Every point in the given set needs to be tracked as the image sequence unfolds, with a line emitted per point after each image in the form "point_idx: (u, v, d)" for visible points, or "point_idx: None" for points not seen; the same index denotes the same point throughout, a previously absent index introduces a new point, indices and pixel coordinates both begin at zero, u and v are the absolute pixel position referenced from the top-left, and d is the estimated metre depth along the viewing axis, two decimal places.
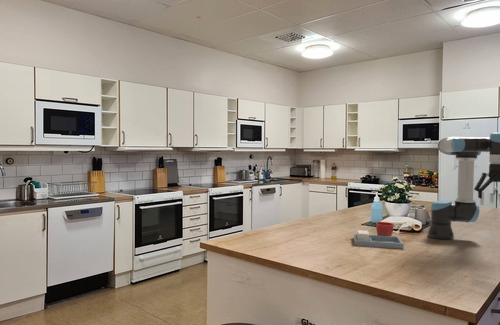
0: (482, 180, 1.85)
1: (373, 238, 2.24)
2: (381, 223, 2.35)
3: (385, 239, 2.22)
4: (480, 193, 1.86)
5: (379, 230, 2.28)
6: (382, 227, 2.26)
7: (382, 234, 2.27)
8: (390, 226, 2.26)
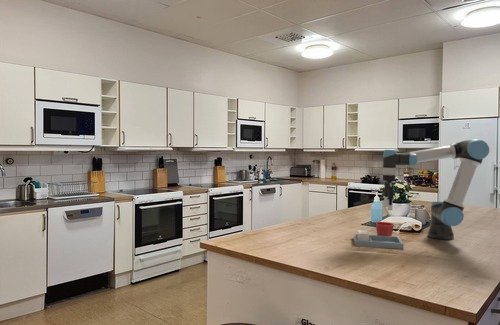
0: (384, 187, 2.35)
1: (373, 238, 2.24)
2: (381, 223, 2.35)
3: (385, 239, 2.22)
4: None
5: (379, 230, 2.28)
6: (382, 227, 2.26)
7: (382, 234, 2.27)
8: (390, 226, 2.26)
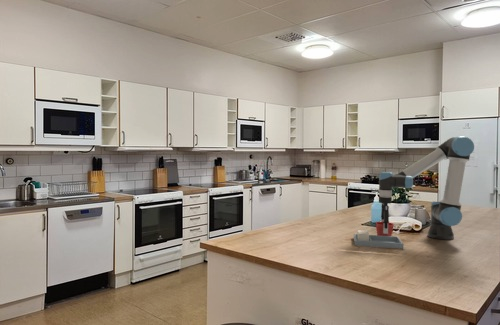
0: None
1: (373, 238, 2.24)
2: (381, 223, 2.35)
3: (385, 239, 2.22)
4: None
5: (379, 230, 2.28)
6: (382, 227, 2.26)
7: (382, 234, 2.27)
8: (390, 226, 2.26)
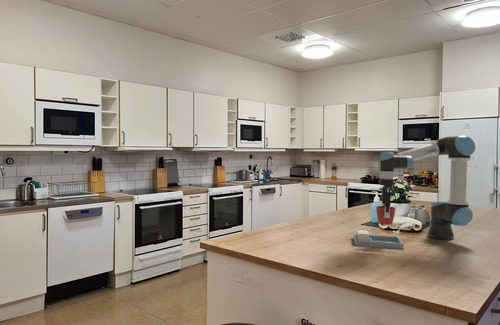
0: None
1: (373, 238, 2.24)
2: (382, 207, 2.19)
3: (385, 239, 2.22)
4: None
5: (380, 214, 2.11)
6: (383, 211, 2.10)
7: (383, 218, 2.10)
8: (392, 210, 2.09)
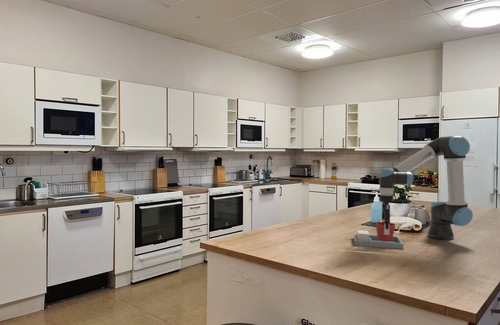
0: None
1: (373, 238, 2.24)
2: (381, 223, 2.19)
3: None
4: None
5: (379, 231, 2.12)
6: (383, 227, 2.10)
7: (383, 235, 2.11)
8: (391, 226, 2.09)
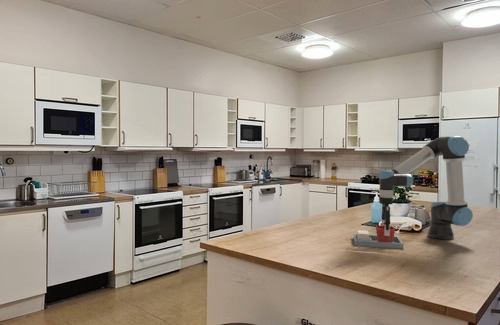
0: None
1: (373, 238, 2.24)
2: (381, 227, 2.19)
3: None
4: None
5: (379, 234, 2.12)
6: (383, 231, 2.10)
7: (383, 239, 2.11)
8: (391, 230, 2.09)
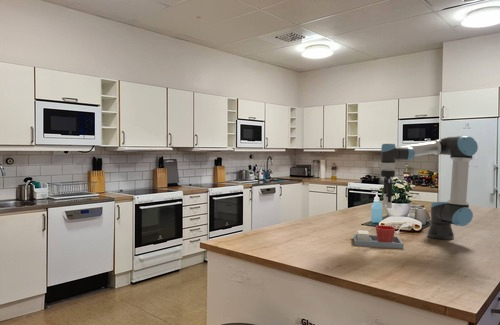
0: None
1: (373, 238, 2.24)
2: (381, 227, 2.19)
3: None
4: None
5: (379, 234, 2.12)
6: (383, 231, 2.10)
7: (383, 239, 2.11)
8: (391, 230, 2.09)
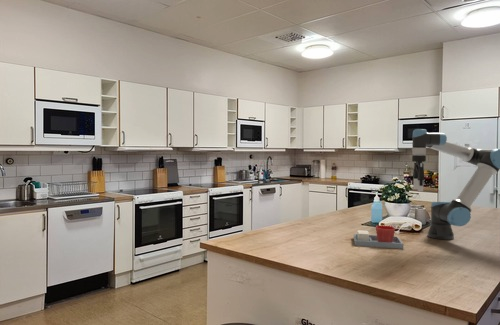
0: (414, 168, 2.28)
1: (373, 238, 2.24)
2: (381, 227, 2.19)
3: None
4: (414, 179, 2.28)
5: (379, 234, 2.12)
6: (383, 231, 2.10)
7: (383, 239, 2.11)
8: (391, 230, 2.09)
